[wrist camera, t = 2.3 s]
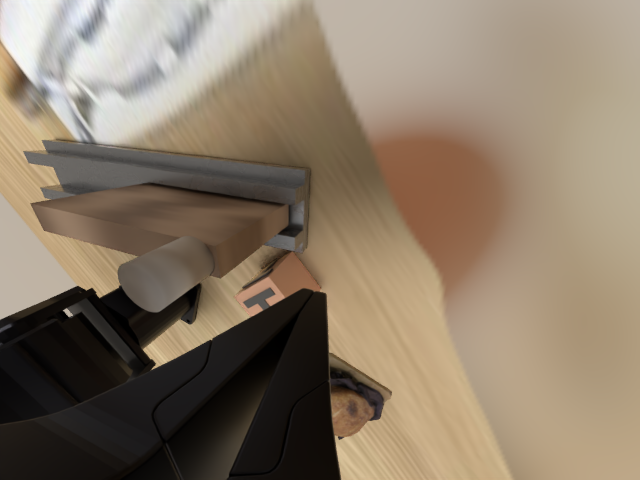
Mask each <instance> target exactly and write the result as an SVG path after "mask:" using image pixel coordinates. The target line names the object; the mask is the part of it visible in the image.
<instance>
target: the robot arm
mask: <svg viewBox="0 0 640 480" xmlns="http://www.w3.org/2000/svg"><path fill="white" fill-rule="evenodd" d="M95 293H96V291H95V290H94V289H93V288H91V289H89V290H87V291H86V290H85V289H83V288H81V287H79V286H76V287H74V288H72V289H70V290H68V291H66V292H63V293H61V294H59V295H57V296H54V297H52V298H50V299H48V300H45V301H43V302H41V303H38V304H36V305H34V306H31V307H29V308H26V309H24V310H22V311H19V312H17V313H15V314H12V315H10V316H8V317H5V318H3V319H1V320H0V480H341V475H340V468H339V462H338V456H337V450H336V442H335V435H334V428H333V419H332V405H331V386H330V365H329V341H328V316H327V295H326V293H323V292H319V291H314V290H311V289H307V288H302V289H300V290H298V291H297V292H295V293H293V294H291V295H290V296H288V297H286V298H284V299H282V300H281V301H279V302H277V303H275V304H273V305H272V306H270V307H268V308H266V309H264V310H263V311H261V312H259V313H257V314H256V315H254V316H252V317H250V318H248V319H247V320H245V321H243V322H241V323H239V324H238V325H236V326H234V327H232V328H230V329H229V330H227V331H225V332H223V333H221V334H220V335H218V336H216V337H214V338H213V339H212V340H209V341H207V342H205V343H203V344H202V345H200V346H198V347H196V348H194V349H192V350H191V351H189V352H187V353H185V354H183V355H181V356H179V357H177V358H176V359H173V360H171V361H169V362H167V363H165V364H163V365H161V366H159V367H157V368H155V369H153V370H151V369H152V368H153V367H154V366H155V364H156V363H155V362H154V361H153V360H152V359H150V358H149V357H148V356H147V354H146V353H145V352H144V351H143V349H144V348H145V347H146V346H148V345H149V344H150V343H151V342H152V341H154V340H155V339H156V338H157V337H158V336H160V335H161V334H162V333H163V332H165V331H166V330H167V329H168V328H169V327H171V326H172V325H173V324H174V323H175V322H177V321H178V320H179V319H181V320H183V321H184V322H186V323H188V324H192V323H193V322H194V321H195V315H196V310H197V305H198V299H199V294H200V286H199V284H197V285H195V286H194V287H193V288H191V289H190V290H189V291H187V292H186V293H184V294H183V295H182V296H180V297H179V298H178V299H176V300H175V301H173V302H172V303H171V304H169V305H168V306H167V307H165V308H164V309H162V310H161V311H159V312H150V311H147V310H145V309H143V308H141V307H140V306H138V305H137V304H136V303H134V302H133V301H132V300H131V299H130V298H129V297H128V295H127V294H126V293H125V291H124V290H123V288H122V286H121V285H120V286H119V288H117V289H115V290H114V291H112V292H110V293H108V294H106V295H104V296H102V297H100V298H99V297H98V296H97V295H96V294H95ZM66 308H67V309H68V310H69V311H70V312H71V313H72V314H73V316H71V317H68V316H67V315H66V314H65V312H64V311H63V310H64V309H66ZM150 370H151V371H150Z"/></svg>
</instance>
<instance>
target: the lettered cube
mask: <svg viewBox="0 0 640 480" xmlns="http://www.w3.org/2000/svg"><path fill="white" fill-rule="evenodd" d="M302 288H307V289H311V290H314V291H320V289H321V288H320V286H319V285H318V284H317V283H316V281H315V280H314V279H313V277H312V276H311V275H310V273H309V272H308V271H307V269H306V268H305V267H304V265H303V264H302V263H301V261H300V260H299V259H298V257H297V256H296V255H295V253H294V252H293V251H292V252H290V253H288V254H287V255H285V256H283V257H282V258H280V259H279V260H277V259H276V260H274V261H273V262H271V263H270V264H269V265H268V266H267V267H266V268H264V269H262V270H261V271H260V272H259V273H258V274H257V275H256V276H255V277H254V278H253V279H252V280H251V281H249V282H248V283H246V284H245V285H244V286H243V287H242V289H241V290H240V291H239V292H238V293H237V294H236V295H235V296H234V298H235V299H236V300H237V301H238V302H239V304H240V305H241V306H242V307H243V308H244V309H245V311H246V312H247V313H248V314H249V315H250V317H252V316H254V315H256V314H257V313H259V312H261V311H263V310H264V309H266V308H268V307H270V306H272V305H273V304H275V303H277V302H279V301H281V300H282V299H284V298H286V297H288V296H290V295H291V294H293V293H295V292H297V291H298V290H300V289H302Z"/></svg>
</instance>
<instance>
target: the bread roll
mask: <svg viewBox="0 0 640 480" xmlns="http://www.w3.org/2000/svg"><path fill="white" fill-rule="evenodd" d="M329 365H330V386H331V405H332V419H333V428H334V435H336V436H338V438H339V440H340V439H342V438H344V437H348V436H352V435H353V434H355V433H357V432H358V431H360V429H361V428H362V427H363V426H364V425H365V423H366V422H367V421H372V420H378V419H380V417H381V412H382V409H383V405H384V403H385V402H386V401H387V400H388V399H390V398H391V394H392V392H391V391H390V390H389V389H388V388H386V387H384V386H382V385H381V384H379V383H378V382H376V381H375V380H373V379H372V378H370V377H368V376H367V375H366V374H364V373H362V372H361V371H359V370H357V369H356V368H354V367H353V366H351V365H350V364H348V363H346V362H345V361H343V360H342V359H340V358H339V357H337V356H335V355H334V354H332V353H329Z"/></svg>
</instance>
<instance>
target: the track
mask: <svg viewBox="0 0 640 480" xmlns="http://www.w3.org/2000/svg"><path fill="white" fill-rule="evenodd" d="M42 142H43V144H44V146H45V149H46V150H43V151H23V152H24V154H25V156H26V158H27V161H28V163H31V164H38V165H44V166H50V167H54V170H55V172H56V175H57V177H58V179H59V182H60V184H61V185H55V186H48V187H40V188H41V190H42V192H43V195H44V197H45V198H48V199H52V200H53V199H58V198H64V197H69V196H75V195H81V194H86V193H92V192H97V191H103V190H109V189H114V188H120V187H125V186H131V185H137V184H142V183H148V182H151V183H157V184H163V185H170V186H176V187H182V188H188V189H195V190H201V191H207V192H214V193H220V194H226V195H232V196H239V197H245V198H251V199H258V200H264V201H270V202H276V203H283V204H289V221H288V226H287V227H285V228H284V229H283V230H281V231H280V232H279V233H278V234H276V235H275V236H274V237H273V238H271V239H270V240H269V241H268V242H266V243H265V244H264V245H267V246H272V247H276V248H281V249H286V250H290V251H295V252H300V253H303V252H304V250H305V249H306V248H307V237H308V213H309V190H310V168H301V167H292V166H283V165H274V164H265V163H257V162H248V161H239V160H230V159H221V158H212V157H203V156H195V155H186V154H177V153H168V152H159V151H150V150H141V149H133V148H124V147H115V146H106V145H97V144H88V143H80V142H71V141H62V140H42Z"/></svg>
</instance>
